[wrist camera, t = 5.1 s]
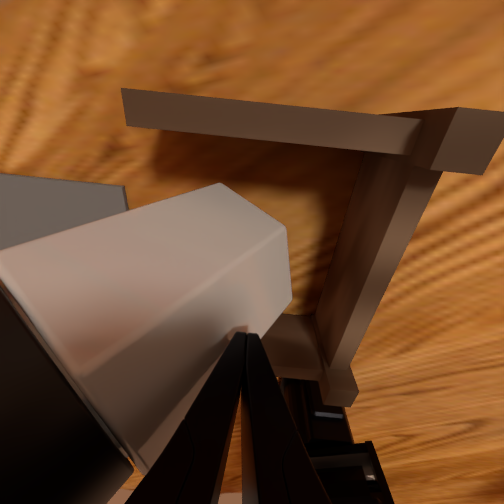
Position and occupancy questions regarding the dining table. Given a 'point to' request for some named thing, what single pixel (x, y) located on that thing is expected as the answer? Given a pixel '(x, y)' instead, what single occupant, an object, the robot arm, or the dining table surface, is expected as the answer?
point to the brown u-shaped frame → (359, 210)
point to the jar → (124, 336)
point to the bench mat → (52, 206)
